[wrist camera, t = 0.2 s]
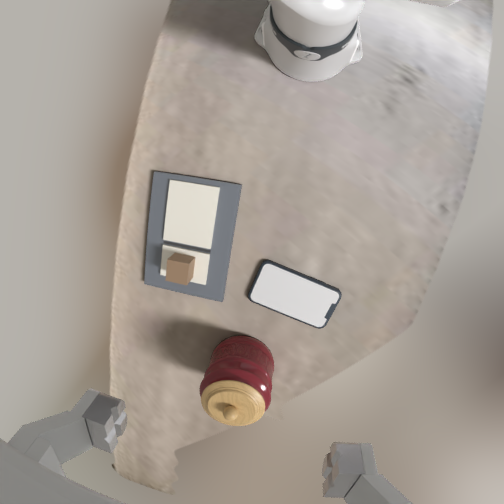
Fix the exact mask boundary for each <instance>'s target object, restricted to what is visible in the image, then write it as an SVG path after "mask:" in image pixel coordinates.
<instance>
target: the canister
mask: <svg viewBox="0 0 504 504" xmlns="http://www.w3.org/2000/svg"><path fill="white" fill-rule="evenodd" d="M273 371H274V360H273V357H272V354H271V352H270V350H269V349H268V347H267V346H266V345H265V344H263V343H262V342H261V341H259V340H257V339H255V338H252V337H248V336H233V337H229V338H227V339H225V340H223V341H222V342H221V343H220V344H219V345H218V346H217V347H216V348H215V350H214V351H213V354H212V356H211V361H210V364H209V367H208V369H207V370H206V372H205V375H204V379H203V380H202V382H201V385H200V396H201V403H202V406H203V408H204V410H205V411H206V413H207V414H208V415H209V416H211V417H212V418H213V419H215V420H217V421H218V422H221V423H223V424H227V425H232V426H244V425H249V424H252V423H254V422H256V421H257V420H259V419H260V418H261V417H262V415H263V414H264V412H265V411H266V410H267V409H268V407H269V405H270V402H271V390H272V375H273Z"/></svg>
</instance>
